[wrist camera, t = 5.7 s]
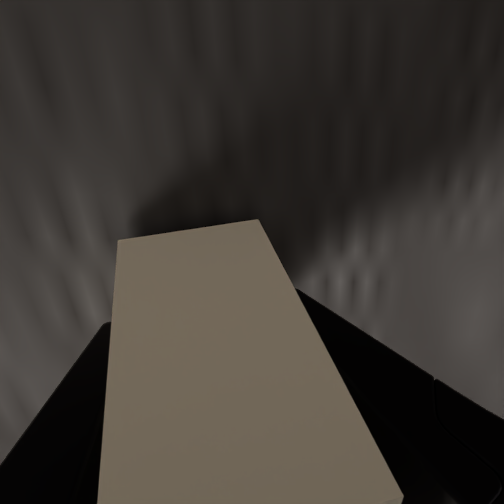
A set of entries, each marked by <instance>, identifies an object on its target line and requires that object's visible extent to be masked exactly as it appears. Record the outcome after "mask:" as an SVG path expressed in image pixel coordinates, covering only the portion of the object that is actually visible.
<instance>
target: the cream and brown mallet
mask: <svg viewBox="0 0 504 504" xmlns="http://www.w3.org/2000/svg"><path fill="white" fill-rule="evenodd" d="M403 497H404V496H403V494H402V492H401V490H400V488H399V486H398V484H397V482H396V481H395V479H394V477H393V475H392V473H391V471H390V469H389V467H388V465H387V463H386V462H385V460H384V458H383V456H382V454H381V452H380V450H379V448H378V446H377V444H376V442H375V441H374V439H373V437H372V435H371V433H370V431H369V429H368V427H367V425H366V423H365V422H364V420H363V418H362V416H361V414H360V412H359V410H358V408H357V406H356V404H355V403H354V401H353V399H352V397H351V395H350V393H349V391H348V389H347V387H346V385H345V383H344V382H343V380H342V378H341V376H340V374H339V372H338V370H337V368H336V366H335V364H334V363H333V361H332V359H331V357H330V355H329V353H328V351H327V349H326V347H325V345H324V343H323V342H322V340H321V338H320V336H319V334H318V332H317V330H316V328H315V326H314V324H313V323H312V321H311V319H310V317H309V315H308V313H307V311H306V309H305V307H304V305H303V304H302V302H301V300H300V298H299V296H298V294H297V292H296V290H295V288H294V286H293V284H292V283H291V281H290V279H289V277H288V275H287V273H286V271H285V269H284V267H283V265H282V264H281V262H280V260H279V258H278V256H277V254H276V252H275V250H274V248H273V246H272V245H271V243H270V241H269V239H268V237H267V235H266V233H265V231H264V229H263V227H262V225H261V224H260V222H259V220H258V219H255V220H249V221H242V222H236V223H229V224H222V225H216V226H209V227H202V228H196V229H189V230H182V231H176V232H169V233H162V234H156V235H149V236H142V237H136V238H129V239H123V240H118V245H117V258H116V271H115V283H114V296H113V309H112V322H111V335H110V347H109V360H108V373H107V386H106V399H105V411H104V424H103V437H102V450H101V462H100V475H99V488H98V501H97V504H401V503H402V500H403Z"/></svg>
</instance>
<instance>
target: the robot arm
mask: <svg viewBox="0 0 504 504" xmlns="http://www.w3.org/2000/svg"><path fill="white" fill-rule="evenodd" d="M295 290H296V292H297V294H298V296H299V298H300V300H301V302H302V304H303V305H304V307H305V309H306V311H307V313H308V315H309V317H310V319H311V321H312V323H313V324H314V326H315V328H316V330H317V332H318V334H319V336H320V338H321V340H322V342H323V343H324V345H325V347H326V349H327V351H328V353H329V355H330V357H331V359H332V361H333V363H334V364H335V366H336V368H337V370H338V372H339V374H340V376H341V378H342V380H343V382H344V383H345V385H346V387H347V389H348V391H349V393H350V395H351V397H352V399H353V401H354V403H355V404H356V406H357V408H358V410H359V412H360V414H361V416H362V418H363V420H364V422H365V423H366V425H367V427H368V429H369V431H370V433H371V435H372V437H373V439H374V441H375V442H376V444H377V446H378V448H379V450H380V452H381V454H382V456H383V458H384V460H385V462H386V463H387V465H388V467H389V469H390V471H391V473H392V475H393V477H394V479H395V481H396V482H397V484H398V486H399V488H400V490H401V492H402V494H403V496H404V497H403V500H402V503H401V504H504V419H502V418H500V417H499V416H497V415H495V414H493V413H492V412H490V411H488V410H486V409H485V408H483V407H481V406H480V405H478V404H476V403H475V402H473V401H472V400H470V399H468V398H467V397H465V396H463V395H462V394H460V393H459V392H457V391H455V390H454V389H452V388H451V387H449V386H448V385H446V384H445V383H443V382H441V381H440V380H438V379H435V380H434V377H433V376H432V375H430V374H429V373H427V372H426V371H424V370H423V369H421V368H419V367H418V366H416V365H415V364H413V363H412V362H410V361H409V360H407V359H406V358H404V357H402V356H401V355H399V354H398V353H396V352H395V351H393V350H392V349H390V348H388V347H387V346H385V345H384V344H382V343H381V342H379V341H378V340H376V339H374V338H373V337H371V336H370V335H368V334H367V333H365V332H364V331H362V330H361V329H359V328H357V327H356V326H354V325H353V324H351V323H350V322H348V321H347V320H345V319H343V318H342V317H340V316H339V315H337V314H336V313H334V312H333V311H331V310H330V309H328V308H326V307H325V306H323V305H322V304H320V303H319V302H317V301H316V300H314V299H312V298H311V297H309V296H308V295H306V294H305V293H303V292H302V291H300V290H298V289H296V288H295ZM110 335H111V322H107V323H104V324H103V325H102V326H101V328H100V329H99V330H98V332H97V333H96V335H95V336H94V337H93V339H92V340H91V341H90V343H89V344H88V345H87V347H86V348H85V350H84V351H83V352H82V354H81V355H80V356H79V358H78V359H77V361H76V362H75V363H74V365H73V366H72V367H71V369H70V370H69V372H68V373H67V374H66V376H65V377H64V378H63V380H62V381H61V382H60V384H59V385H58V387H57V388H56V389H55V391H54V392H53V393H52V395H51V396H50V398H49V399H48V400H47V402H46V403H45V404H44V406H43V407H42V408H41V410H40V411H39V413H38V414H37V415H36V417H35V418H34V419H33V421H32V422H31V424H30V425H29V426H28V428H27V429H26V430H25V432H24V433H23V435H22V436H21V437H20V439H19V440H18V441H17V443H16V444H15V445H14V447H13V448H12V450H11V451H10V452H9V454H8V455H7V456H6V458H5V459H4V461H3V462H2V463H1V465H0V504H97V501H98V488H99V475H100V462H101V450H102V437H103V424H104V411H105V399H106V386H107V373H108V360H109V347H110Z"/></svg>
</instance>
